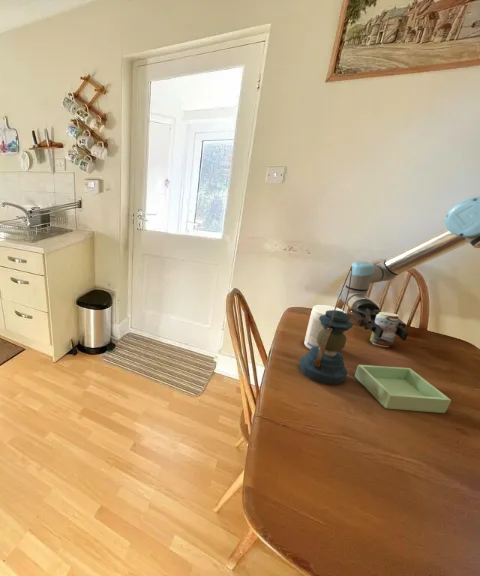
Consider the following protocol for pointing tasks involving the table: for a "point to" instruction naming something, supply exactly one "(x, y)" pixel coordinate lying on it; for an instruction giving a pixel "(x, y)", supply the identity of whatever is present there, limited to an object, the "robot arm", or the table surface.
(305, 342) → the supplement tub
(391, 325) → the beverage can
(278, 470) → the table surface
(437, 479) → the table surface
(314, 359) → the lantern
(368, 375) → the green square tray
